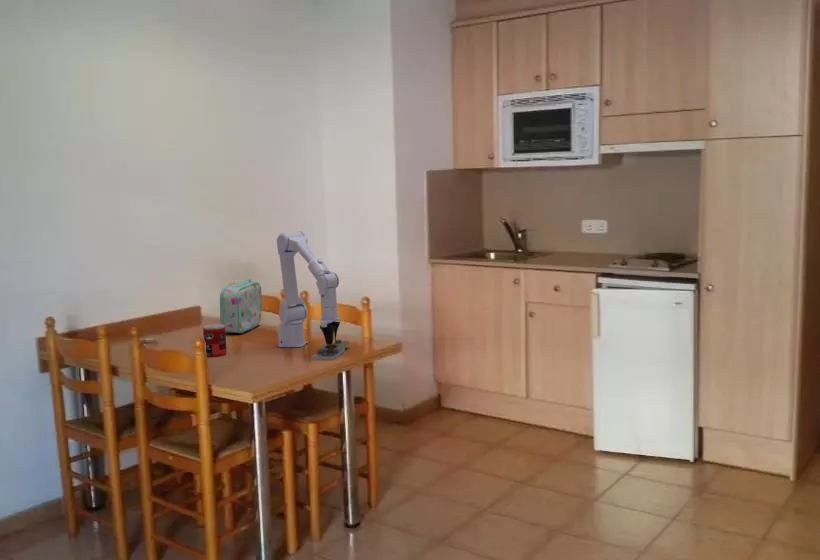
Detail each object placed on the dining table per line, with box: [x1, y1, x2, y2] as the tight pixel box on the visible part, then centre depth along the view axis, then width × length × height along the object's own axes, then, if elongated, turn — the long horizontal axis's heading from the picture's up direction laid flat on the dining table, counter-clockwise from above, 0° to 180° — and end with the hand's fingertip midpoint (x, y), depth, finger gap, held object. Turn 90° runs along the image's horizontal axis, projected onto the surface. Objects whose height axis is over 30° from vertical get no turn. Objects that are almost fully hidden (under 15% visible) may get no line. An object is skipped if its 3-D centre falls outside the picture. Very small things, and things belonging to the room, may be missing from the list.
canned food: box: [202, 323, 228, 358], centre depth 303 cm, size 8×8×11 cm
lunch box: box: [219, 278, 263, 334], centre depth 350 cm, size 27×10×21 cm, turn 169°
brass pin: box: [327, 333, 335, 348], centre depth 298 cm, size 3×3×8 cm
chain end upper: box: [316, 339, 350, 353], centre depth 301 cm, size 8×14×2 cm, turn 168°
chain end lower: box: [311, 347, 346, 361], centre depth 295 cm, size 8×14×2 cm, turn 168°
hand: (330, 342), depth 298 cm, fingers closed on brass pin, 3 cm apart
